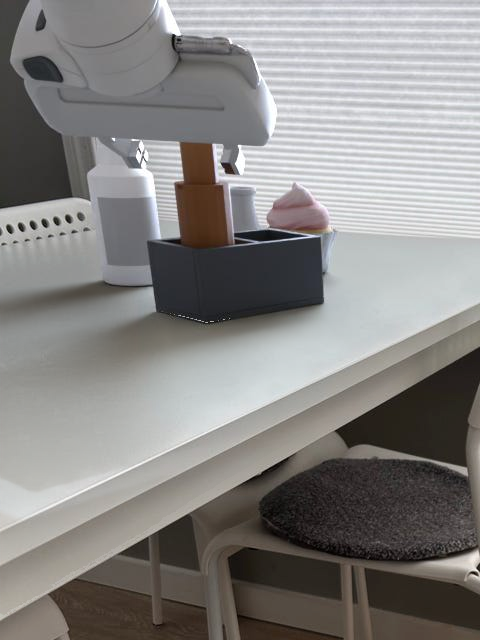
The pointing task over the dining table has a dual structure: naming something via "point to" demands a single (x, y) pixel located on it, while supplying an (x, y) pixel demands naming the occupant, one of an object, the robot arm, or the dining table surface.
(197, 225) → the bottle
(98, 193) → the spray bottle
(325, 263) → the cupcake
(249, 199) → the flask
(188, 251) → the holder
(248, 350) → the dining table surface
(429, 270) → the dining table surface
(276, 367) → the dining table surface
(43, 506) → the dining table surface
